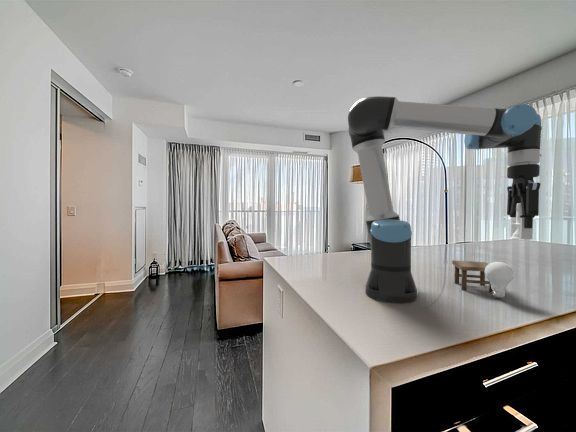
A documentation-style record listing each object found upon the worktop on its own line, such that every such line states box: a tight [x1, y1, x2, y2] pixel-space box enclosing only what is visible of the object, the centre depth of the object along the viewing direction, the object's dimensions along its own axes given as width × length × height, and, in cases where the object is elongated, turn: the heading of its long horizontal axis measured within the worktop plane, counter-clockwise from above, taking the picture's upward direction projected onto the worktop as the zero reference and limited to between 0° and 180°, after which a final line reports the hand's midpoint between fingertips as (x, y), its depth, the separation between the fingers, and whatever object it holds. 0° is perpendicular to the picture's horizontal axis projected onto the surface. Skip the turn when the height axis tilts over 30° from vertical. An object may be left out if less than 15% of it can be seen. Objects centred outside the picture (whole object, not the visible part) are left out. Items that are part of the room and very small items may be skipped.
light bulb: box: [485, 261, 515, 300], centre depth 73 cm, size 7×7×11 cm
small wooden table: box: [451, 260, 493, 294], centre depth 84 cm, size 10×10×8 cm
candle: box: [509, 203, 533, 241], centre depth 79 cm, size 5×5×12 cm
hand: (520, 237), depth 79 cm, fingers closed on candle, 5 cm apart
